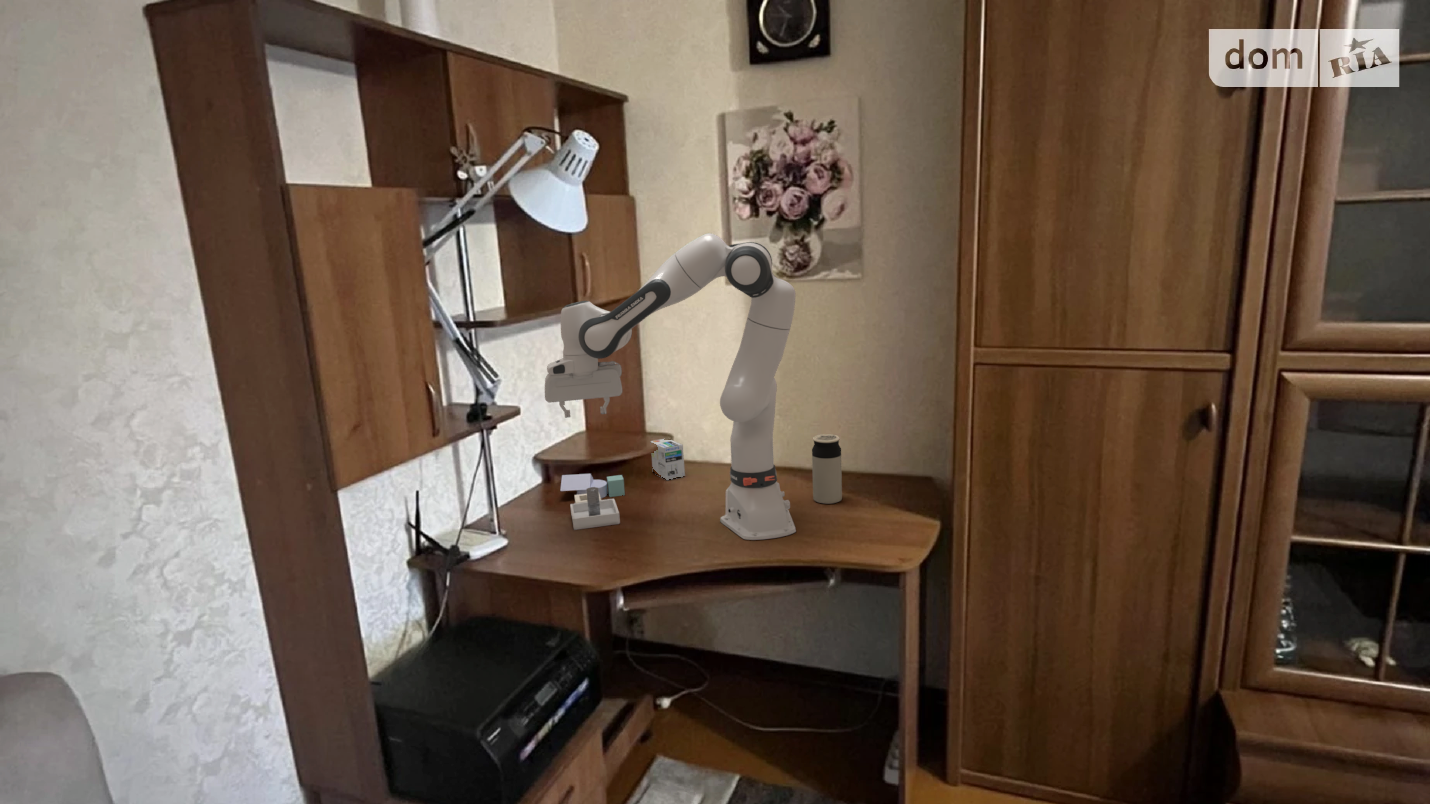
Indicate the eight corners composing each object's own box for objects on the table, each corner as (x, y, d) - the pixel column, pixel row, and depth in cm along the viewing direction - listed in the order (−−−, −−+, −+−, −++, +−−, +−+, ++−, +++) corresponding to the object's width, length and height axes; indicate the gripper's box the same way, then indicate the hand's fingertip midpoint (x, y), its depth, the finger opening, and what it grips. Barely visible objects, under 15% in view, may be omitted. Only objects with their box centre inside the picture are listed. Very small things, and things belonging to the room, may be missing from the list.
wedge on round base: (561, 501, 227) (605, 499, 227) (559, 480, 225) (604, 477, 226) (566, 491, 236) (609, 489, 236) (564, 470, 234) (607, 468, 234)
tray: (620, 523, 207) (619, 513, 206) (573, 529, 204) (572, 519, 204) (614, 508, 219) (614, 498, 218) (571, 514, 216) (570, 504, 215)
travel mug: (847, 501, 215) (846, 438, 211) (822, 506, 212) (820, 443, 208) (832, 493, 222) (831, 432, 218) (808, 497, 219) (806, 436, 215)
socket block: (602, 509, 218) (601, 499, 218) (576, 513, 217) (575, 503, 216) (599, 501, 225) (598, 492, 224) (575, 505, 223) (574, 495, 223)
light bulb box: (685, 477, 244) (683, 443, 241) (666, 481, 241) (664, 447, 238) (670, 469, 253) (668, 437, 251) (651, 473, 250) (649, 440, 247)
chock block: (624, 495, 230) (623, 479, 229) (609, 497, 229) (608, 481, 228) (623, 490, 234) (621, 474, 233) (608, 492, 233) (606, 476, 232)
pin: (601, 518, 210) (598, 490, 208) (589, 519, 210) (586, 491, 208) (600, 514, 213) (597, 486, 212) (588, 515, 213) (585, 487, 211)
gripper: (619, 358, 208) (623, 408, 211) (541, 365, 203) (546, 416, 206) (622, 362, 202) (626, 413, 205) (542, 369, 197) (547, 422, 200)
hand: (585, 415), depth 205 cm, fingers open, 8 cm apart
